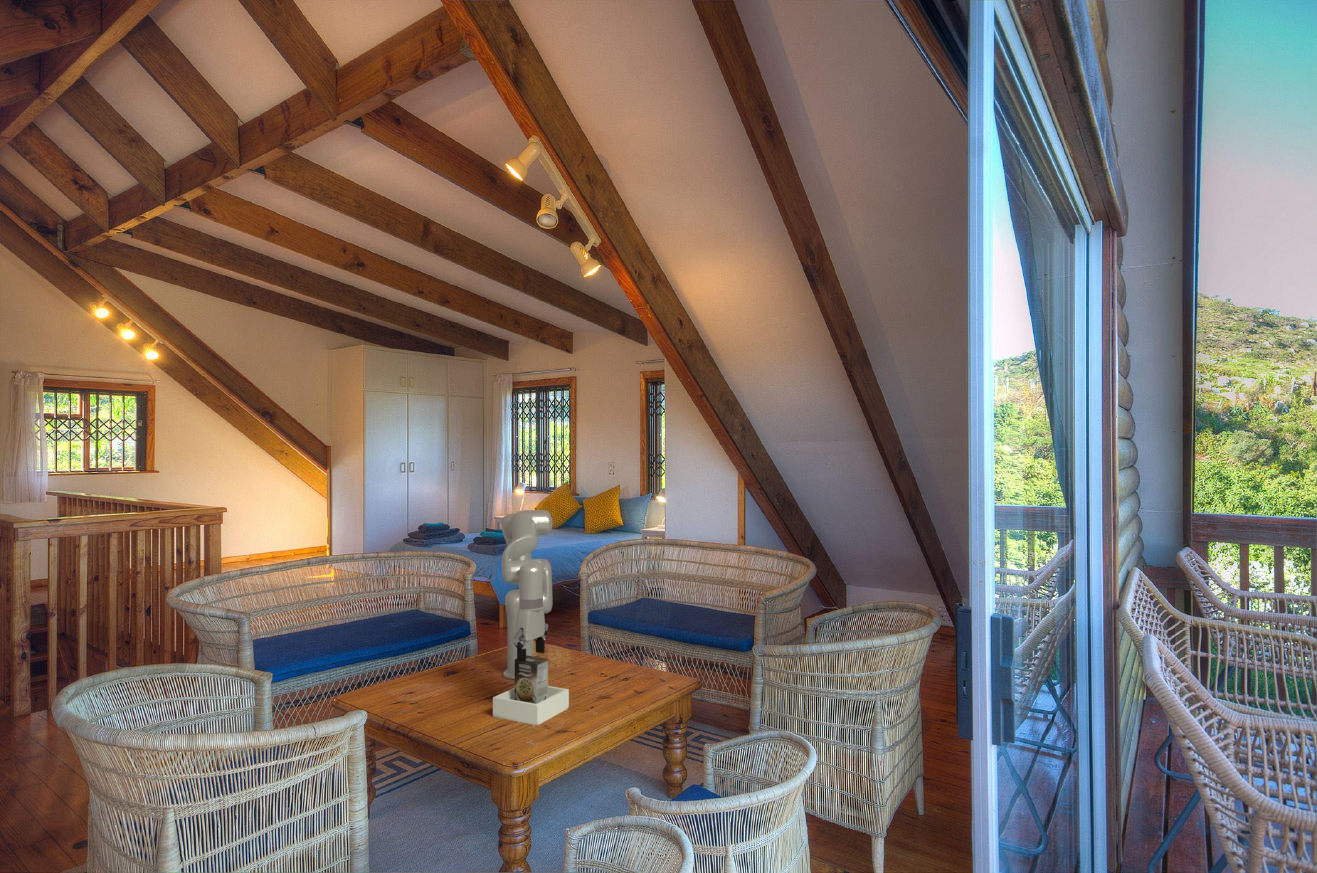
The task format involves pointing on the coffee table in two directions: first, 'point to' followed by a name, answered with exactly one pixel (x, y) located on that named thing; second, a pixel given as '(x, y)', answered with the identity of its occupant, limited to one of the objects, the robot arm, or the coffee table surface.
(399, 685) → the coffee table surface
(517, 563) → the robot arm
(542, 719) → the bin
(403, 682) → the coffee table surface
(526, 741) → the coffee table surface
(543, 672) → the coffee box
